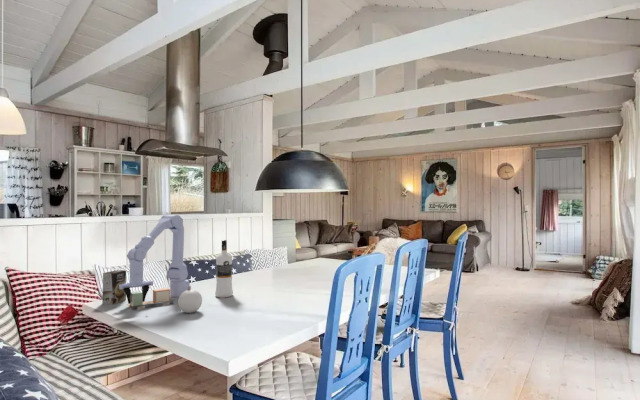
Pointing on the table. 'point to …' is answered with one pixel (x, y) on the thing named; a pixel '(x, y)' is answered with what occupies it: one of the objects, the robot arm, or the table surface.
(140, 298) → the sage tin
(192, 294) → the ornament
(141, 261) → the robot arm
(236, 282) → the table surface
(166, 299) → the salmon rectangular block
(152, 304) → the tan panel metal trim
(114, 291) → the coffee box
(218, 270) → the vodka
